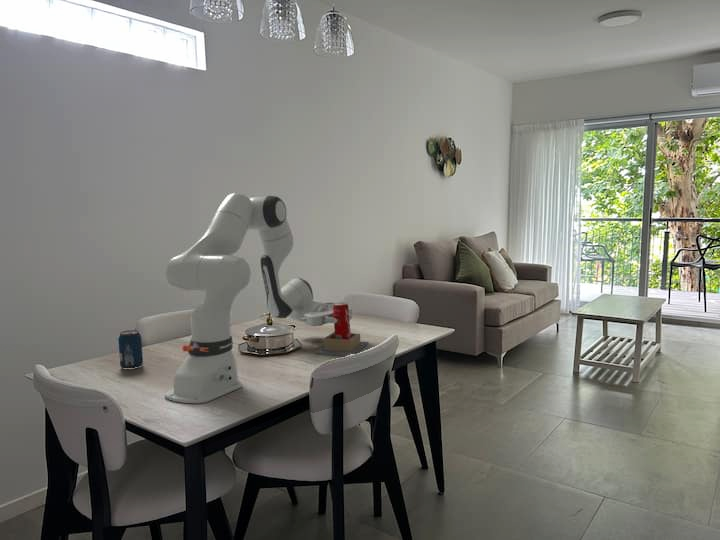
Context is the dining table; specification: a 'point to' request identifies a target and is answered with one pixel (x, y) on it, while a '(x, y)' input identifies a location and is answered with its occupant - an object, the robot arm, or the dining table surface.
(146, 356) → the dining table surface
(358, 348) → the can stand
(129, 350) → the soda can
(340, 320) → the beverage can
